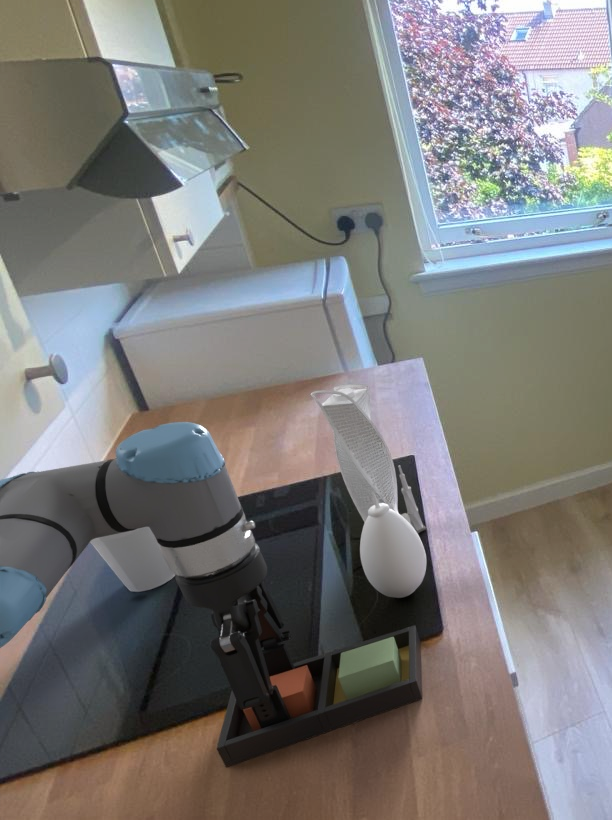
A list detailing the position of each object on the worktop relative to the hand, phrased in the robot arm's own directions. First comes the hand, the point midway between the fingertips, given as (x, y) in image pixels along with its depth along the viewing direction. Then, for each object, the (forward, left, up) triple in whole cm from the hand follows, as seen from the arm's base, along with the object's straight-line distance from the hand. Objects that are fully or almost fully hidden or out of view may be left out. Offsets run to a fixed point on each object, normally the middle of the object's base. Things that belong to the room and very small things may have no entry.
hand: (284, 708), depth 89 cm
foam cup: (-22, +40, -1) cm, 46 cm away
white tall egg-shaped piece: (+13, +17, -1) cm, 22 cm away
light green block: (+10, 0, 0) cm, 10 cm away
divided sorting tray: (+5, 0, -1) cm, 5 cm away
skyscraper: (+11, +35, -1) cm, 37 cm away
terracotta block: (0, 0, 0) cm, 0 cm away
